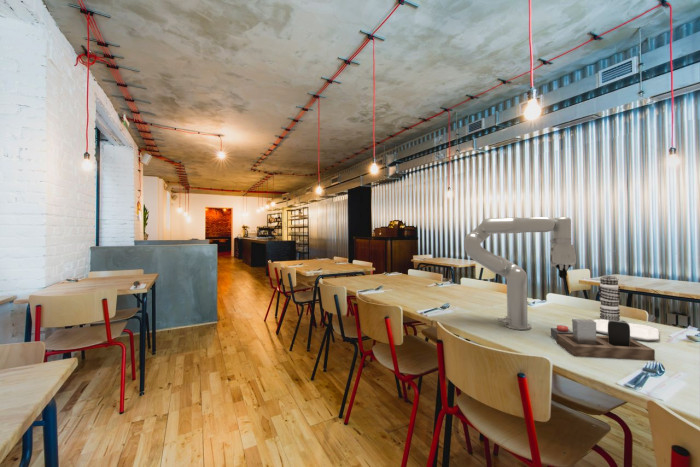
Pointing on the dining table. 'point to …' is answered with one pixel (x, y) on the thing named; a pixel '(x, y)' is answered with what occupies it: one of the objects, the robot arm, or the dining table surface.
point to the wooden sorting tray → (599, 344)
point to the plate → (631, 330)
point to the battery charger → (618, 333)
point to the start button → (562, 328)
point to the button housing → (559, 332)
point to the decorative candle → (609, 298)
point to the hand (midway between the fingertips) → (562, 277)
